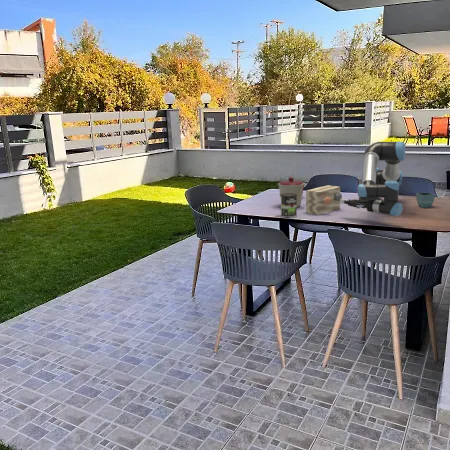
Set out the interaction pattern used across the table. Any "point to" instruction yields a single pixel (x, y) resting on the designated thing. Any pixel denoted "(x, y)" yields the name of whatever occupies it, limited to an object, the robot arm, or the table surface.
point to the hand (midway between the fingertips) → (340, 200)
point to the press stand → (315, 197)
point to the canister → (292, 188)
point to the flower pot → (425, 199)
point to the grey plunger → (338, 197)
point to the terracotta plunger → (326, 200)
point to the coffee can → (288, 205)
